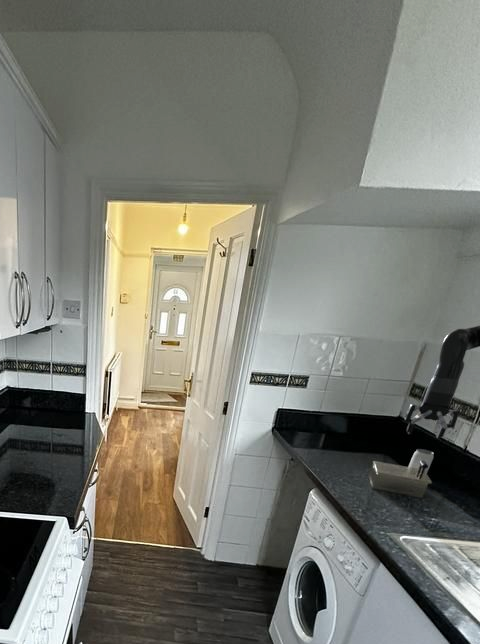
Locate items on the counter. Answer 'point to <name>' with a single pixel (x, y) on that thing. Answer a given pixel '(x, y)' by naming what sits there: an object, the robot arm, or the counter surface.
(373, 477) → the beige storage tray
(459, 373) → the robot arm
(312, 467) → the counter surface
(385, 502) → the counter surface
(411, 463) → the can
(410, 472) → the lid
